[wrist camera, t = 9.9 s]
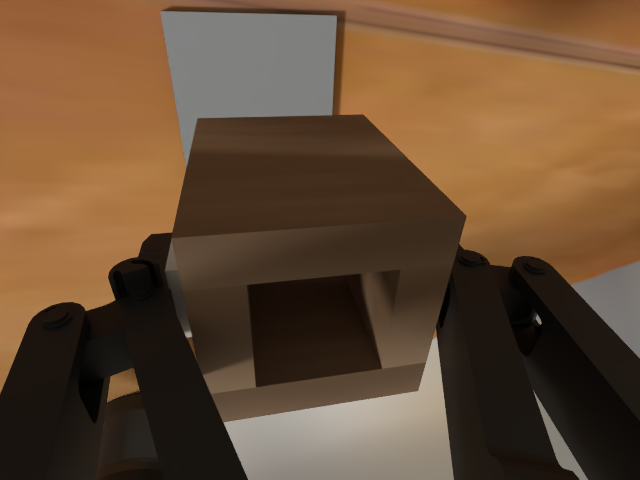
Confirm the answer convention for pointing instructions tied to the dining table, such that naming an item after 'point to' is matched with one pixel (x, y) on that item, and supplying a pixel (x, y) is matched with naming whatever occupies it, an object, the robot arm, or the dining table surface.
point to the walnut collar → (309, 262)
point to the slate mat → (249, 65)
